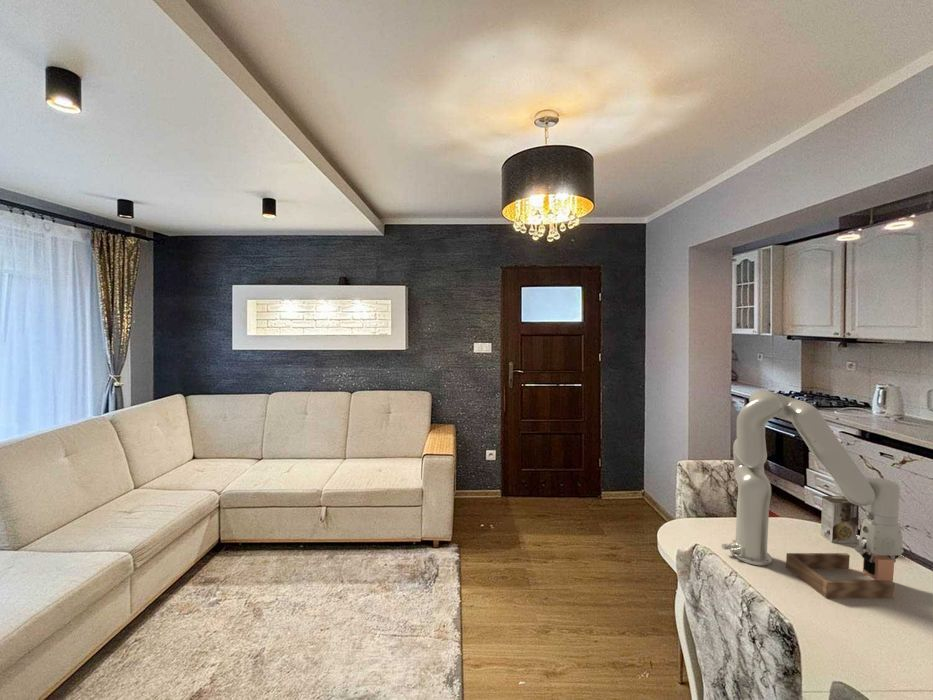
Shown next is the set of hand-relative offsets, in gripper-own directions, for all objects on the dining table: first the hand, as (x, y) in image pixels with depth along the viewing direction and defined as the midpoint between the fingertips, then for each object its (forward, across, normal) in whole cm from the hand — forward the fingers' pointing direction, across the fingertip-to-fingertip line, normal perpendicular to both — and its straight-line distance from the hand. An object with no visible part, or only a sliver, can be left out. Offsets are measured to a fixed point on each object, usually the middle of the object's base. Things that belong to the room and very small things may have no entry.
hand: (877, 571), depth 138 cm
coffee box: (+4, +11, +27) cm, 29 cm away
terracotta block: (+2, 0, 0) cm, 2 cm away
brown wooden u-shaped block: (+4, -13, 0) cm, 14 cm away
